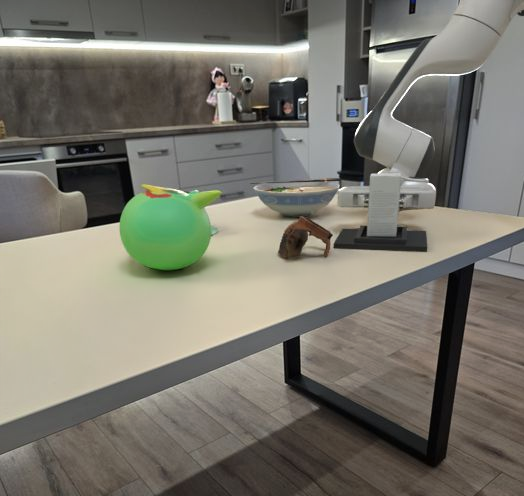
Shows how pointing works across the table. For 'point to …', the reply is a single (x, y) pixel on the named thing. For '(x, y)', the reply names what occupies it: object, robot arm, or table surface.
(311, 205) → the ramen bowl
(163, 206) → the toy bird
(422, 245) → the dock pad
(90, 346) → the table surface
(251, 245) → the table surface
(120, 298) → the table surface
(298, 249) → the brown arched part
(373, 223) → the cosmetic box
